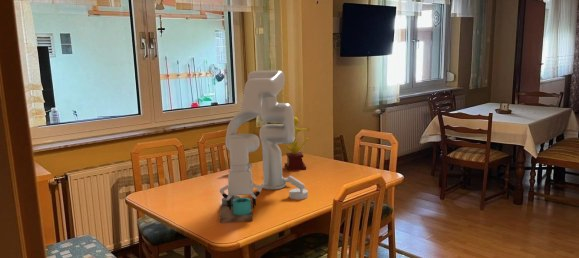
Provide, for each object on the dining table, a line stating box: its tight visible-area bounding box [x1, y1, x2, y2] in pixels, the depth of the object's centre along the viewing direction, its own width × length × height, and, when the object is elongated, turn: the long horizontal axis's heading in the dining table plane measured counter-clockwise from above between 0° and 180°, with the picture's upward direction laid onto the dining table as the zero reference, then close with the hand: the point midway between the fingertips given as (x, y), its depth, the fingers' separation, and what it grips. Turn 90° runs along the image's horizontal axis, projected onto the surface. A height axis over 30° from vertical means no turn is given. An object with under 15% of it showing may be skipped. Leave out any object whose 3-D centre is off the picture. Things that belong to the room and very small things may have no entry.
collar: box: [233, 196, 252, 215], centre depth 185 cm, size 7×7×5 cm
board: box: [219, 190, 254, 224], centre depth 191 cm, size 13×23×8 cm, turn 6°
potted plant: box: [283, 116, 310, 172], centre depth 258 cm, size 14×16×30 cm
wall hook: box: [286, 175, 309, 200], centre depth 208 cm, size 9×10×10 cm
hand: (241, 207), depth 185 cm, fingers open, 9 cm apart
